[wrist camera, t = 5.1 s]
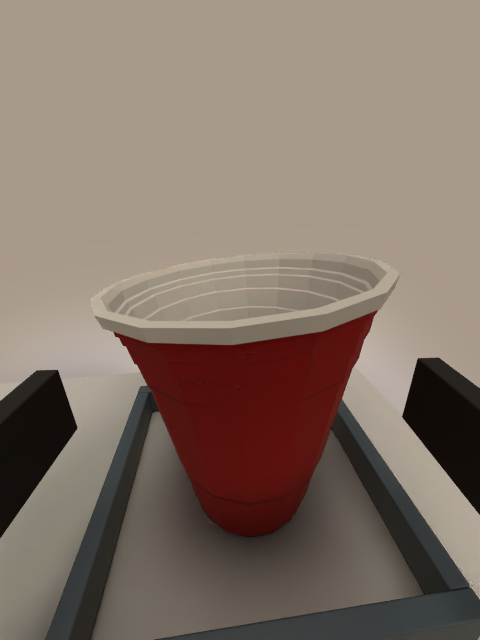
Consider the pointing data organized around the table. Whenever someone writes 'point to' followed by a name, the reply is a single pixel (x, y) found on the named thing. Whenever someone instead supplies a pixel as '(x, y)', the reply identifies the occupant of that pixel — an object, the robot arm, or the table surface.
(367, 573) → the table surface
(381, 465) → the grey square frame
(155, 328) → the plastic cup
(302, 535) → the table surface
